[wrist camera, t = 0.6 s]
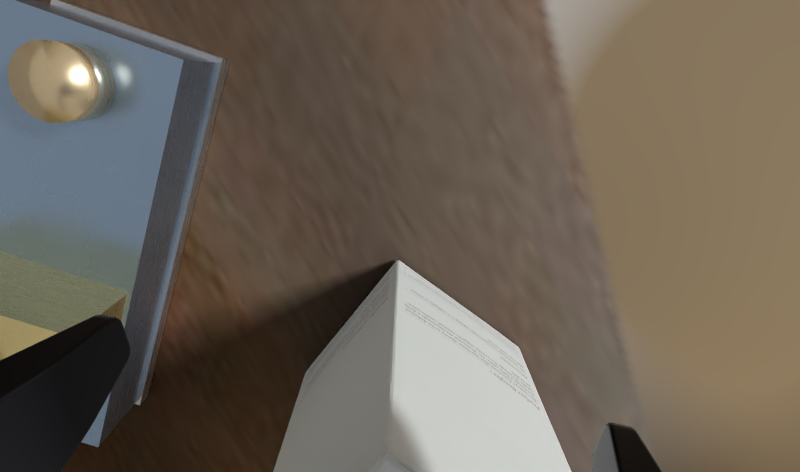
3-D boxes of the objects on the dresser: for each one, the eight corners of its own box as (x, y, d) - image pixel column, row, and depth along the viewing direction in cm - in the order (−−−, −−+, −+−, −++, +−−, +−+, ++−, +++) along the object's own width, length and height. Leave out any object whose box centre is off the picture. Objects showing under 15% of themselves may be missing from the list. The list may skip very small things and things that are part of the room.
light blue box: (147, 395, 25) (79, 479, 20) (10, 354, 25) (-98, 429, 19) (229, 60, 21) (169, 53, 16) (64, 1, 20) (-56, -27, 15)
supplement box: (300, 372, 25) (198, 653, 13) (398, 253, 23) (388, 446, 11) (424, 455, 26) (438, 785, 14) (525, 349, 24) (644, 618, 12)
